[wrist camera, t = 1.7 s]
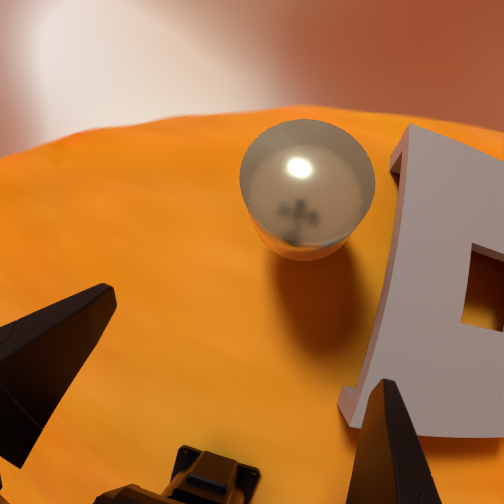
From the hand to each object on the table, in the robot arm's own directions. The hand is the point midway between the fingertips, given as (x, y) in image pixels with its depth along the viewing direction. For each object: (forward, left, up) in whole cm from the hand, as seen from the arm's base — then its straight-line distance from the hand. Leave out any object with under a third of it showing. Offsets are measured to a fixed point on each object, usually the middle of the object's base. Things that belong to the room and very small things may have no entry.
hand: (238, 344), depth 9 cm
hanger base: (+6, -15, -13) cm, 20 cm away
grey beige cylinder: (+8, -1, -13) cm, 15 cm away
